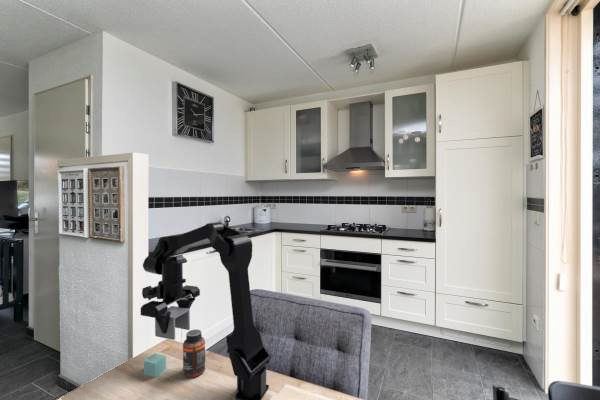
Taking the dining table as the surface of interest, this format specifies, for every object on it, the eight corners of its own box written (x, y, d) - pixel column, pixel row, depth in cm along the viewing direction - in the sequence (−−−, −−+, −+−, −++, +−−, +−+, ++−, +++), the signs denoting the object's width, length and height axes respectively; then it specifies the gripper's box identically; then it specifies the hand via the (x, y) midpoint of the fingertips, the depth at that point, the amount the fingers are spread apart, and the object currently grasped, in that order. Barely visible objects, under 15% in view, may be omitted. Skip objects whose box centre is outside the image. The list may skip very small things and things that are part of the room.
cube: (166, 369, 83) (166, 355, 83) (155, 377, 79) (155, 363, 79) (155, 366, 85) (155, 353, 84) (143, 374, 81) (143, 360, 81)
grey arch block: (189, 329, 90) (189, 308, 90) (174, 339, 84) (173, 317, 84) (172, 326, 93) (171, 305, 92) (155, 336, 86) (155, 314, 86)
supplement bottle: (209, 366, 85) (208, 328, 84) (200, 379, 79) (199, 338, 78) (189, 364, 85) (189, 326, 85) (179, 377, 79) (178, 337, 79)
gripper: (173, 266, 99) (173, 312, 100) (124, 283, 81) (125, 338, 82) (200, 269, 96) (201, 316, 96) (156, 287, 78) (157, 345, 78)
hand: (173, 327), depth 88 cm, fingers closed on grey arch block, 7 cm apart
